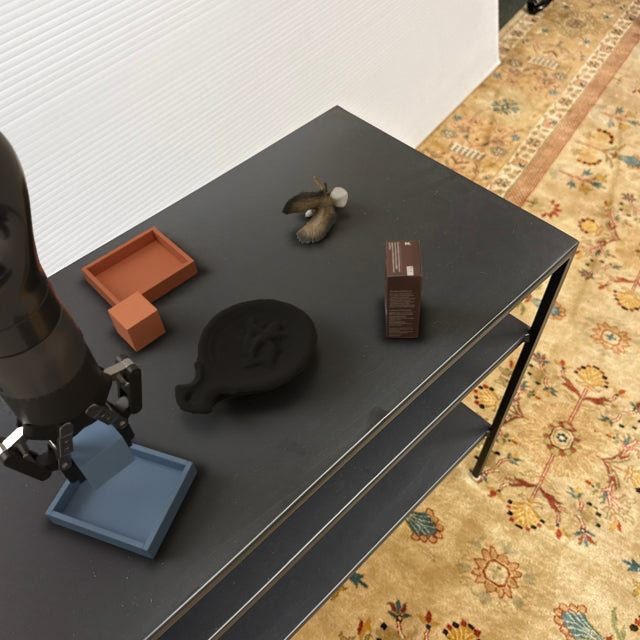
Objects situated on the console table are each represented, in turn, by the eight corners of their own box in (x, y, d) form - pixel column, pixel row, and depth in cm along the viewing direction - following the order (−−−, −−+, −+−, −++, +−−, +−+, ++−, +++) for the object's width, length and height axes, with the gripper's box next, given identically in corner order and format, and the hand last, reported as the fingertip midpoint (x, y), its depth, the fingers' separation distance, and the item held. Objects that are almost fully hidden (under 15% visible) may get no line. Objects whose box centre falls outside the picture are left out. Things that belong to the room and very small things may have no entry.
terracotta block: (136, 352, 83) (127, 330, 80) (117, 332, 86) (107, 310, 82) (165, 332, 85) (157, 309, 82) (146, 313, 88) (137, 290, 84)
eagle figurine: (301, 191, 101) (270, 217, 95) (325, 162, 96) (294, 188, 89) (335, 225, 101) (307, 253, 95) (361, 199, 96) (333, 227, 90)
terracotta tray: (124, 319, 87) (119, 307, 85) (86, 280, 92) (80, 268, 90) (197, 273, 92) (194, 260, 90) (157, 238, 97) (153, 226, 95)
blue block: (95, 490, 62) (79, 468, 58) (71, 459, 64) (54, 437, 61) (135, 459, 64) (122, 436, 60) (111, 431, 66) (97, 407, 63)
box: (382, 304, 87) (385, 239, 78) (415, 304, 87) (422, 238, 77) (383, 339, 83) (386, 275, 74) (418, 340, 83) (426, 275, 73)
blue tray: (53, 523, 69) (44, 513, 67) (103, 442, 75) (96, 431, 73) (153, 559, 66) (147, 550, 64) (197, 472, 72) (193, 462, 70)
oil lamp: (147, 388, 80) (137, 364, 76) (263, 299, 88) (259, 274, 84) (225, 462, 73) (218, 440, 69) (343, 358, 81) (342, 334, 78)
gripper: (91, 283, 55) (141, 392, 69) (-71, 382, 49) (18, 481, 63) (139, 331, 52) (183, 437, 65) (-30, 444, 46) (56, 535, 59)
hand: (102, 458), depth 64 cm, fingers closed on blue block, 4 cm apart
